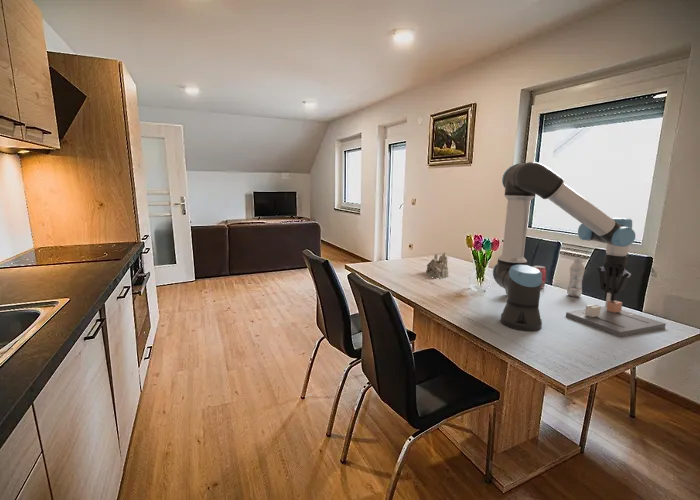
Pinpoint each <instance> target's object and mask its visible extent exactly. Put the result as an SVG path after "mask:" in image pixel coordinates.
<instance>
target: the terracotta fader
mask: <svg viewBox="0 0 700 500" xmlns="http://www.w3.org/2000/svg"><path fill="white" fill-rule="evenodd" d="M622 306H623V302H622V301H619V300H615V301H608V305H607V311H610V312H613V313H615V312H621V310H623V307H622Z"/></svg>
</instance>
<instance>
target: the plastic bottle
mask: <svg viewBox="0 0 700 500" xmlns="http://www.w3.org/2000/svg"><path fill="white" fill-rule="evenodd" d="M583 262H584V258H582V257H578V256H577V257H574V258H573V263H572V264H571V265H570V267H569V283H568V287H567V288H566V294H567V295H568V296H571V297H573V298H574V297H575V298H576V297H577V298H579V297H581V296H582V294H583V288H582V287H583V278H584V274H585V271H586V268H585V265H584V264H583Z"/></svg>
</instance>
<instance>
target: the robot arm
mask: <svg viewBox="0 0 700 500" xmlns="http://www.w3.org/2000/svg"><path fill="white" fill-rule="evenodd" d="M501 180H502V181H501V183H502V186H503V188H504V197H505V199H507V204H506V215H505V223H504V233H503V243H502V252H501V255H500V256H498V257H497V263H496V264H495V265H494V266H493V269H492V278H493V279H494V281H495V282H496V283H497V285H499V286H500V288H503V289H504V290H505V289H506V290H507V291H508V293H507V294H506V296H507V297H506V304H505V306H504V308H503V311H502V312H501V314H500V319H499V320H500V323H501V324H503V326H506V327H508V328H510V329H515V330H519V331H525V332H526V331H527V332H533V331H534V332H535V331H539V330H542V327H543V320H542V318H541V313H540V310H539V308H540V305H539V304H540V297H541V290H542V289H541V283H542V274H541V272H540V270H538V269H537V268H535V267H534V266H530V265H528V260H527V258H525V250H526V249H525V246H526V241H527V240H526V238H527V230H528V223H529V215H530V214H529V213H530V207H531V206H530V205H531V201H532V200H533V199H534V198H535V197H536V196H539V197H540V198H542V199H543V200H549V201H551V203H553V204H554V205H556V206H557V207H558V208H561V209H562V211H564V212H566V214H568V215H570V216H571V217H572V218H574V219H575V220H577V221H578V222H579V223H581V224H580V225H579V226H578V228H577V235H578V237H579V239H580V240H582V241H588V242H589V241H594V242H598V243H599V242H600V243H603V244H606V247H605V253H606V254H605V256H604V264H603V266H600V267H597V271H598V273H599V274H598V275H599V284H600V289H601V290H602V291H604V299H605V305H604V306H605V307H607V305H608V301H617V295H618V294H622V293H623V291H624V290H625V287H626V285H627V283H628V280H629V279H630V278H631V277H632V276H633V273H632V272H629V271H628V270H627V267H626V265H627V262H628V254H629V251H630V250H629V249H630V246H631V244H633V243H634V242H635V239H636V232H635V230H633V220H632V219H631V218H625V217H610V216H609V215H607V214H606V213H605V212H603V211H602V210H601V209H599V208H598V207H596V206H595V205H594V204H593V203H591V202H590V201H589V200H588V199H586V198H585V197H583V196H582V195H581V194H579V193H578V192H577V191H575V190H574V189H573V188H571V187H570V186H568V185H567V184H565V183H564V182H565V180H564V178H563V177H561V176H560V175H559V174H558V173H556V172H555V171H554V170H552V169H551V168H550V167H548V166H546V165H544V164H542V163H540V162H537V161H529V162H522V163H521V162H520V163H516V164H513V165H512V166H509V167H508V168H507V169H506V170H505V172H504V173H503V175H502V178H501Z"/></svg>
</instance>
